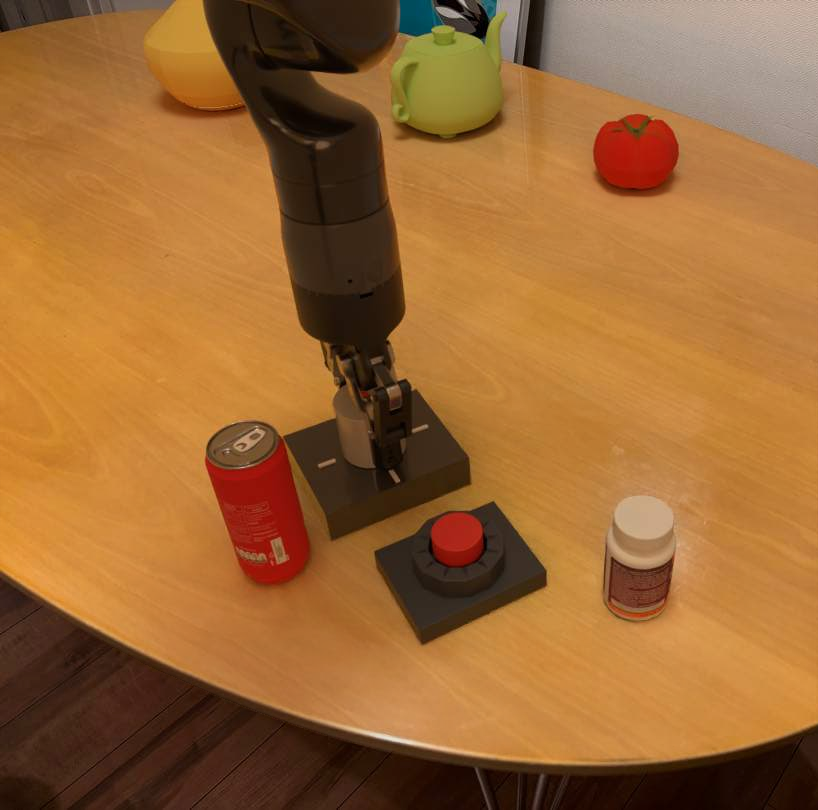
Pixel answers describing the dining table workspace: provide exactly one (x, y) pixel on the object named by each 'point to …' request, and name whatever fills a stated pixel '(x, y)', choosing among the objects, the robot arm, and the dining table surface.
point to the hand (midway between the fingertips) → (374, 442)
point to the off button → (457, 539)
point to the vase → (189, 59)
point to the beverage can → (258, 500)
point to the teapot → (448, 80)
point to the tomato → (635, 151)
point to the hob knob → (354, 429)
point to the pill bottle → (639, 558)
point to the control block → (459, 575)
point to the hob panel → (376, 472)
